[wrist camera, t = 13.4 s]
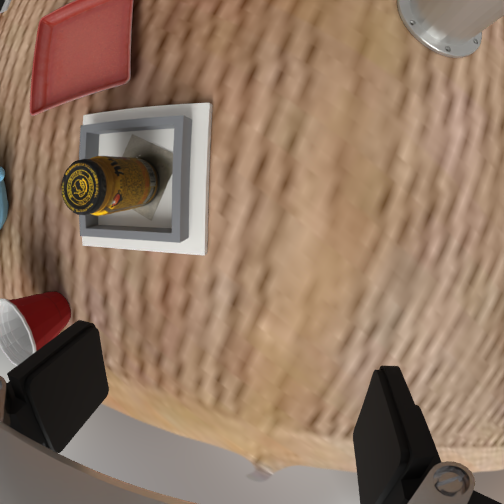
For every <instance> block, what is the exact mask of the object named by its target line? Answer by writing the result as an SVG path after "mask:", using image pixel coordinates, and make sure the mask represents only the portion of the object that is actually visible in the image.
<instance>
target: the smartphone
mask: <svg viewBox="0 0 504 504" xmlns="http://www.w3.org/2000/svg"><path fill="white" fill-rule="evenodd" d="M10 2H11V0H0V13H2V12H5V11H6V10H7V9H8V7H9V4H10Z"/></svg>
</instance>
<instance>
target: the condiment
mask: <svg viewBox="0 0 504 504" xmlns="http://www.w3.org/2000/svg"><path fill="white" fill-rule="evenodd" d="M139 155H140V156H139ZM136 157H137V158H136ZM172 172H173V153H171V152H169V151H167V150H165V149H163V148H161V147H159V146H157V145H155V144H153V143H150V142H148V141H146V140H144V139H142V138H140V137H138V136H135V135H133V134H132V136H131V138H130V140H129V142H128V145H127V147H126V149H125V152H124V154H123V156H122V157H113V156H96V157H92V158H90V159H81V160H78V161H75V162H73V163H72V164H71V165H70V166H69V168H68V169H67V170H66V172H65V174H64V177H63V180H62V197H63V199H64V202H65V204H66V205H67V207H68V208H69V209H70V210H72V211H73V212H74V213H76V214H78V215H89V214H92V215H96V216H101V215H108V214H112V213H115V212H120V211H126V210H130V209H132V210H134V211H136V212H138V213H139V214H141V215H142V216H144V217H146V218H148V219H149V220H151V221H152V218H153V216H154V214H155V211H156V209H157V207H158V204H159V202H160V200H161V198H162V195H163V193H164V191H165V189H166V186H167V183H168V181H169V180H170V177H171V175H172Z"/></svg>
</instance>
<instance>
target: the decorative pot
mask: <svg viewBox="0 0 504 504" xmlns="http://www.w3.org/2000/svg"><path fill="white" fill-rule="evenodd" d="M4 177H5V170H4V169H3V168H2V167H0V229H1V228H2V226H3V224H4V223H5V221H6V218H7V214H8V207H9V204H8V200H7V193H6V187H5V183H4Z"/></svg>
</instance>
